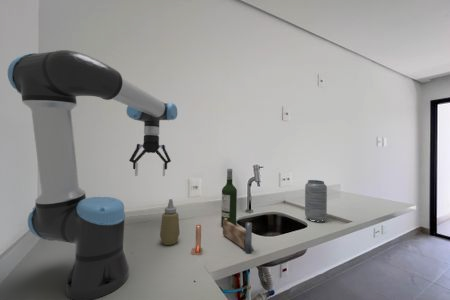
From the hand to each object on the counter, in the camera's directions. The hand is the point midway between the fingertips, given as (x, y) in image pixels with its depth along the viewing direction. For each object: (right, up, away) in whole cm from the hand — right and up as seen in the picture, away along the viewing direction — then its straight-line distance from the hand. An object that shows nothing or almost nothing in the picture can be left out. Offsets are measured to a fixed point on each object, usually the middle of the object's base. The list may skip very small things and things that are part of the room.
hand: (150, 175), depth 102 cm
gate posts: (+38, -26, -26) cm, 53 cm away
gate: (+43, -25, -19) cm, 53 cm away
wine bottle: (+41, -27, 0) cm, 49 cm away
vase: (+93, -28, +13) cm, 98 cm away
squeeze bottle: (+16, -26, -20) cm, 36 cm away
